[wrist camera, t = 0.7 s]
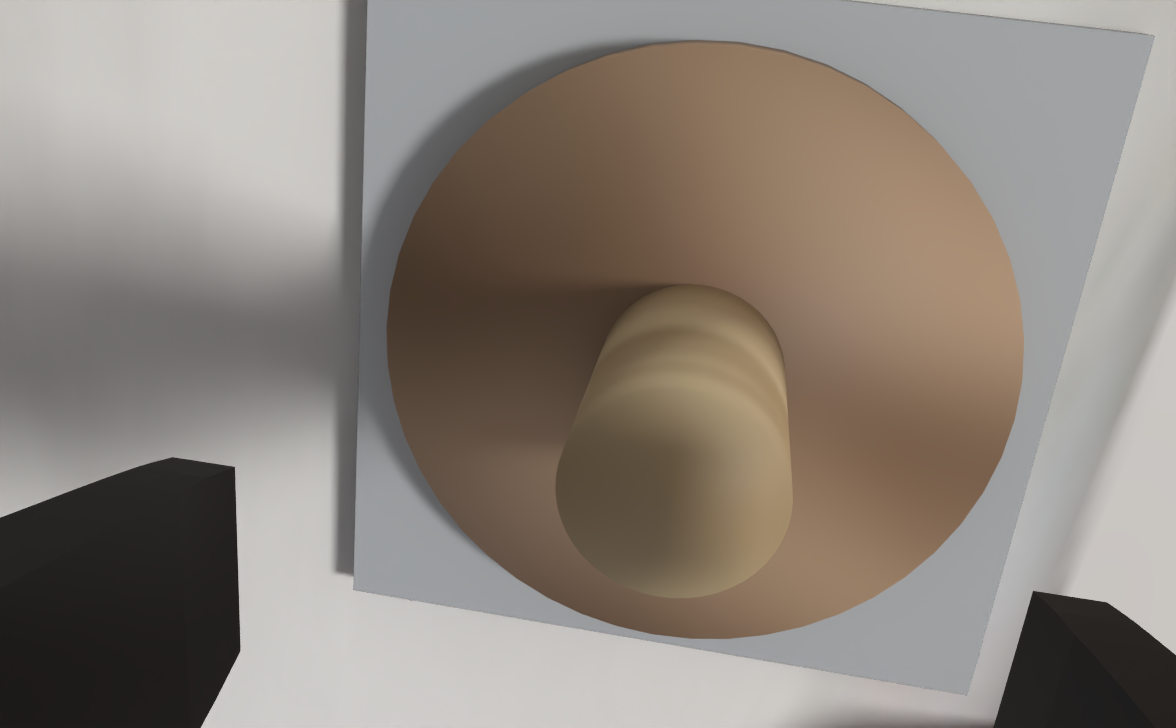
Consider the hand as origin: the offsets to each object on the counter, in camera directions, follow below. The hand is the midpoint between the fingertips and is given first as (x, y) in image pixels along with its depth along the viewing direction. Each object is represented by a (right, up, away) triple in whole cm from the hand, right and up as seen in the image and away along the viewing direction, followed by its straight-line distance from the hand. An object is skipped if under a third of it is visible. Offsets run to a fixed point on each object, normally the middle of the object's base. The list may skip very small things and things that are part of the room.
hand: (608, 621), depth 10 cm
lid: (+1, +2, +7) cm, 8 cm away
